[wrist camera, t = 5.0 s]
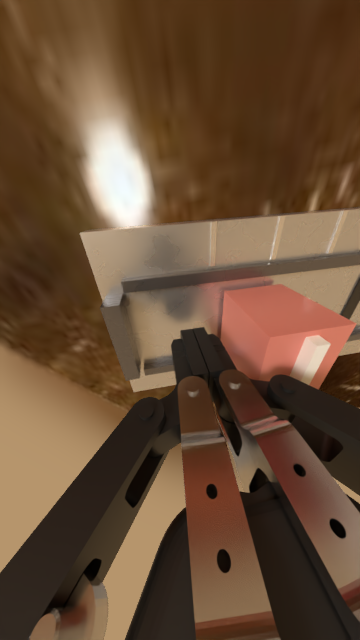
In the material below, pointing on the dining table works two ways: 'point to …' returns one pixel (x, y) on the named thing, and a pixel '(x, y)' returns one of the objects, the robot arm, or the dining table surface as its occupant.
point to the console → (216, 277)
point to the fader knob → (281, 334)
